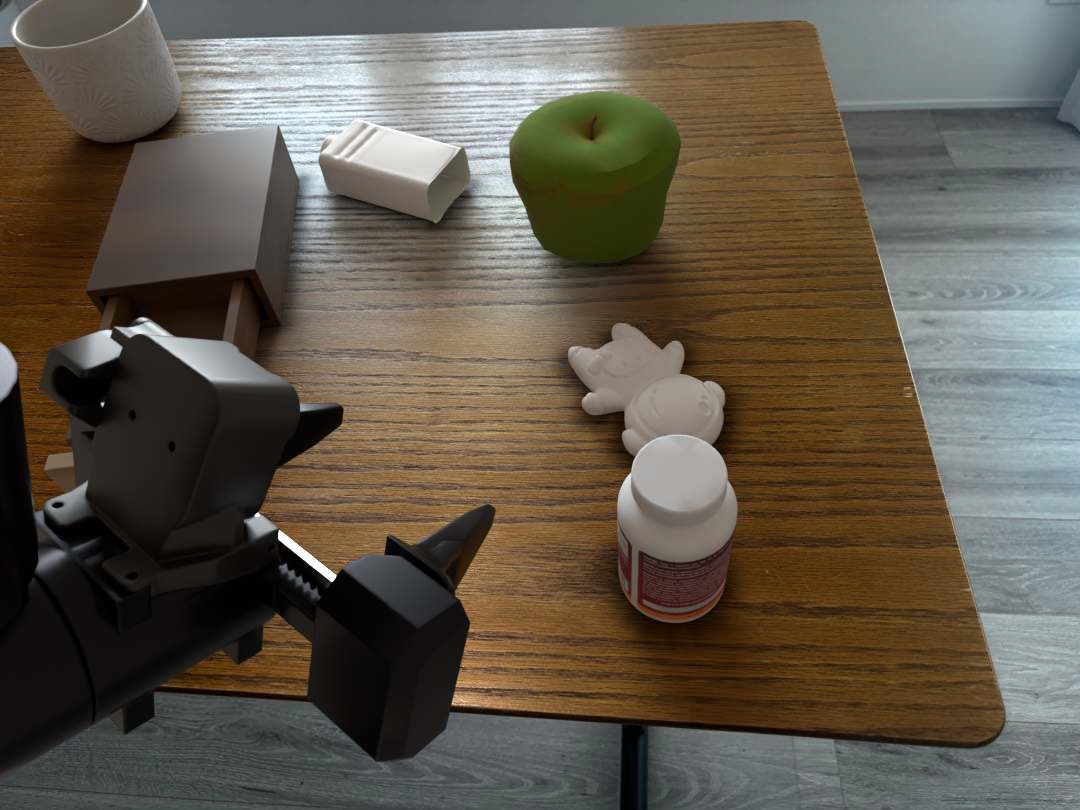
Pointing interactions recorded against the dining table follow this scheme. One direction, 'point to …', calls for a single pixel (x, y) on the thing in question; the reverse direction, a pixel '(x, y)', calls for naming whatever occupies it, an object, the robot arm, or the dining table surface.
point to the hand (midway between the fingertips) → (412, 461)
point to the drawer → (179, 329)
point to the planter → (100, 65)
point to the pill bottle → (675, 529)
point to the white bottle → (394, 169)
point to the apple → (595, 174)
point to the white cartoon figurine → (647, 389)
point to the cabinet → (202, 217)
